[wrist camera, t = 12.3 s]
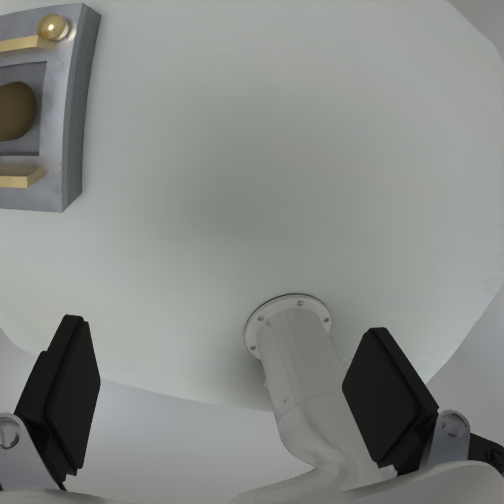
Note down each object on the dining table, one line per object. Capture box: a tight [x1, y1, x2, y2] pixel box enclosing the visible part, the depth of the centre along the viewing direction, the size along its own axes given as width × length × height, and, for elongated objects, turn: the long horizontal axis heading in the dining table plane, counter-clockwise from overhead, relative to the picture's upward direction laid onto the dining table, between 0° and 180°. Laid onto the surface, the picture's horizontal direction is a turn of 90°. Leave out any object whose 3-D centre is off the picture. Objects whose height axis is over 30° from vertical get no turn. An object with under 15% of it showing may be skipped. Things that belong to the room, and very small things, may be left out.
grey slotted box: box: [0, 3, 101, 213], centre depth 22 cm, size 20×14×10 cm
